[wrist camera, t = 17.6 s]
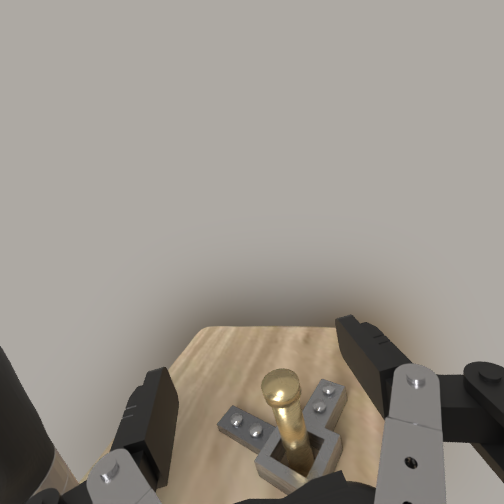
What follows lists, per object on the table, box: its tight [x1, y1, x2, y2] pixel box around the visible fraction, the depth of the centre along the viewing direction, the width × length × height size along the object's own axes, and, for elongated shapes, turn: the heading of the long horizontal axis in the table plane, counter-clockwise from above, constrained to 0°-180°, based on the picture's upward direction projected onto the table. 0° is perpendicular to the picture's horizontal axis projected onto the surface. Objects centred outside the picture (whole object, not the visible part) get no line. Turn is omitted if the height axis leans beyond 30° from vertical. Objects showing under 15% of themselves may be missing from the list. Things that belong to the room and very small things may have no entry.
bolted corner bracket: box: [217, 379, 347, 495], centre depth 44 cm, size 18×16×4 cm
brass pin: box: [261, 369, 314, 477], centre depth 36 cm, size 5×5×14 cm
